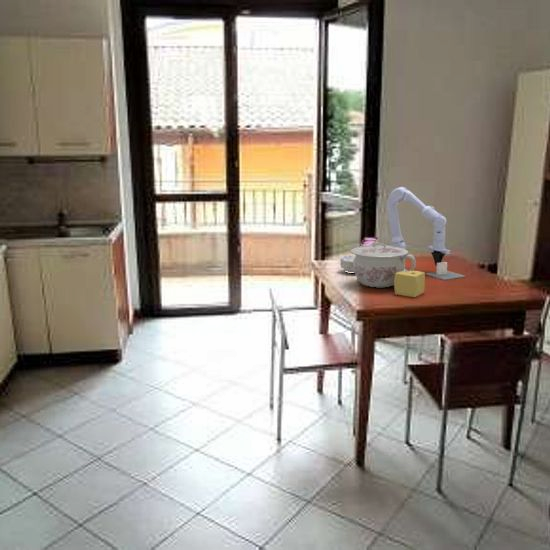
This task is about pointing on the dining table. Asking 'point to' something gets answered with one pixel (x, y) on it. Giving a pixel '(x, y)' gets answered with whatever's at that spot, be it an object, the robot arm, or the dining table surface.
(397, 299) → the dining table surface
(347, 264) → the paper bowls
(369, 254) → the chamber pot
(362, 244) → the gum box
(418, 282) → the cheese
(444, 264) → the block
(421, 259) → the dining table surface
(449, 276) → the mat
